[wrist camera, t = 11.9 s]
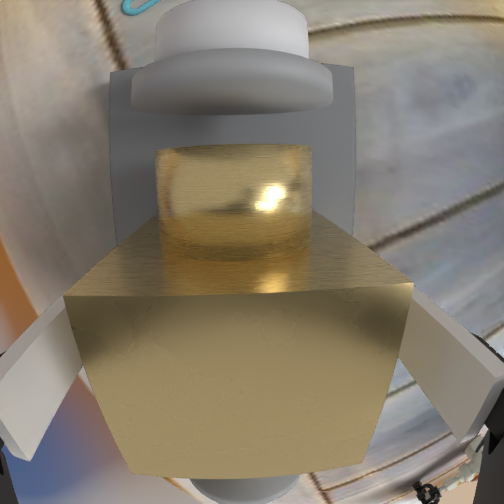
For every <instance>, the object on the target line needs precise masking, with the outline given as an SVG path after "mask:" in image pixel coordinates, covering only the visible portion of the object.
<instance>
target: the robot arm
mask: <svg viewBox="0 0 504 504" xmlns="http://www.w3.org/2000/svg"><path fill="white" fill-rule="evenodd" d="M63 295H64V294H62V295H61V296H60V297H59V298H58V299H57V300H56V301H55V302H54V303H53V304H52V305H51V306H50V307H49V308H48V309H47V310H46V311H45V312H44V313H43V314H42V315H41V316H40V317H39V318H38V319H37V320H36V321H35V322H34V323H33V324H32V325H31V326H30V327H29V328H28V329H27V330H26V331H25V332H24V333H23V334H22V335H21V336H20V337H19V338H18V339H17V340H16V341H15V342H14V343H13V344H12V345H11V347H10V348H9V349H8V350H7V351H5V352H3V353H2V354H0V504H18V501H17V497H16V494H15V491H14V488H13V485H12V481H11V478H10V474H9V470H8V466H7V462H6V458H5V455H4V453H3V452H2V451H1V448H2V447H3V445H4V444H5V445H6V446H7V448H8V449H9V451H10V452H11V453H12V454H13V456H16V457H19V458H21V459H24V460H27V461H31V459H32V457H33V455H34V453H35V451H36V449H37V447H38V445H39V443H40V441H41V439H42V437H43V435H44V433H45V431H46V429H47V428H48V426H49V424H50V422H51V420H52V418H53V416H54V415H55V413H56V411H57V409H58V407H59V406H60V404H61V402H62V400H63V398H64V397H65V395H66V393H67V391H68V390H69V388H70V386H71V385H72V383H73V381H74V379H75V378H76V376H77V374H78V373H79V371H80V369H81V368H82V366H83V363H82V360H81V357H80V354H79V351H78V348H77V345H76V341H75V338H74V335H73V332H72V328H71V325H70V321H69V318H68V314H67V310H66V307H65V303H64V299H63ZM398 358H399V359H400V360H401V362H402V363H403V364H404V366H405V367H406V368H407V370H408V371H409V372H410V374H411V375H412V376H413V378H414V379H415V381H416V382H417V383H418V385H419V386H420V388H421V389H422V390H423V392H424V393H425V394H426V396H427V397H428V399H429V400H430V401H431V403H432V404H433V406H434V407H435V409H436V410H437V411H438V413H439V414H440V416H441V417H442V419H443V420H444V422H445V423H446V424H447V426H448V427H449V429H450V430H451V432H452V433H453V435H454V436H455V438H456V439H457V441H458V442H459V444H461V443H463V442H466V441H468V440H470V439H472V438H474V437H476V436H477V435H478V433H479V431H480V430H481V428H482V427H483V425H484V424H485V425H486V426H487V428H488V431H487V433H486V434H485V436H484V437H483V439H482V440H481V442H480V443H479V445H478V446H477V448H476V450H475V452H476V453H478V451H479V450H480V448H481V447H482V446H483V445H484V446H483V451H482V453H481V454H482V460H481V466H480V472H479V477H478V483H477V487H476V492H475V497H474V501H473V504H504V358H503V357H502V356H501V355H500V354H499V353H496V351H495V350H494V349H493V348H492V347H489V344H488V343H486V342H485V341H484V340H483V339H482V338H481V337H479V336H477V335H475V334H473V333H471V332H469V331H468V330H467V329H465V328H464V327H463V326H462V325H461V324H460V323H459V322H457V321H456V320H455V319H454V318H453V317H452V316H450V315H449V314H448V313H447V312H446V311H444V310H443V309H442V308H441V307H440V306H438V305H437V304H436V303H435V302H434V301H432V300H431V299H430V298H429V297H428V296H426V295H425V294H424V293H423V292H421V291H420V290H419V289H418V288H416V287H415V286H413V291H412V297H411V302H410V307H409V312H408V317H407V321H406V326H405V330H404V334H403V338H402V343H401V347H400V351H399V354H398Z"/></svg>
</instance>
